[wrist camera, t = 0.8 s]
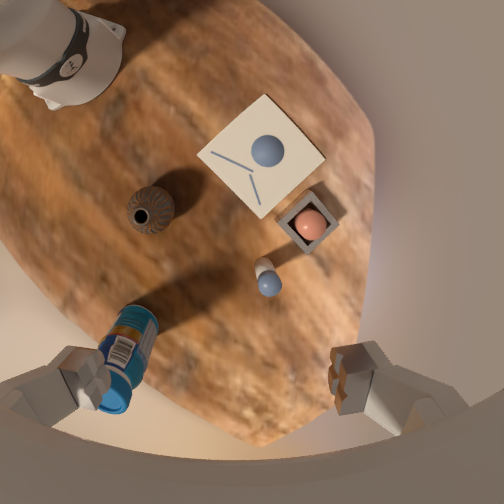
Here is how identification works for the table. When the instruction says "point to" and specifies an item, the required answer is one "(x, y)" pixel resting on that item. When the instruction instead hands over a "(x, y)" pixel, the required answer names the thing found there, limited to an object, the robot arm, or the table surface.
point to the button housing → (298, 206)
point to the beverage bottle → (127, 355)
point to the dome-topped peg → (267, 277)
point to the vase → (151, 210)
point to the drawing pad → (261, 156)
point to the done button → (310, 224)
